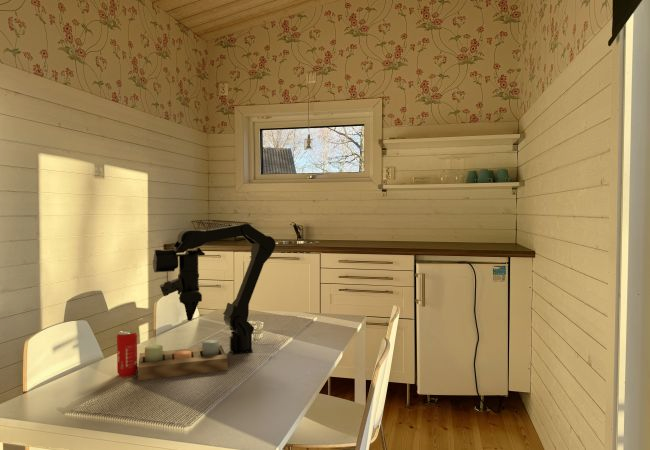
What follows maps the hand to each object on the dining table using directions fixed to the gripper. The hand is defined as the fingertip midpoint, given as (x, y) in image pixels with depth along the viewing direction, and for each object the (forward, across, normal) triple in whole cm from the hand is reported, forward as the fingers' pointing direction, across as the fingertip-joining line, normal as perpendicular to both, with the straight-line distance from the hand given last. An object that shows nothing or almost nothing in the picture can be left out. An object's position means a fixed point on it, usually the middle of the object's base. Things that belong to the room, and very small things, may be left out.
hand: (189, 320), depth 147 cm
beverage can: (+12, +9, -18) cm, 23 cm away
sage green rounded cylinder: (+9, +8, +5) cm, 13 cm away
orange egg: (+12, +8, -2) cm, 14 cm away
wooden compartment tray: (+12, +8, -2) cm, 15 cm away
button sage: (+9, +8, -10) cm, 16 cm away
